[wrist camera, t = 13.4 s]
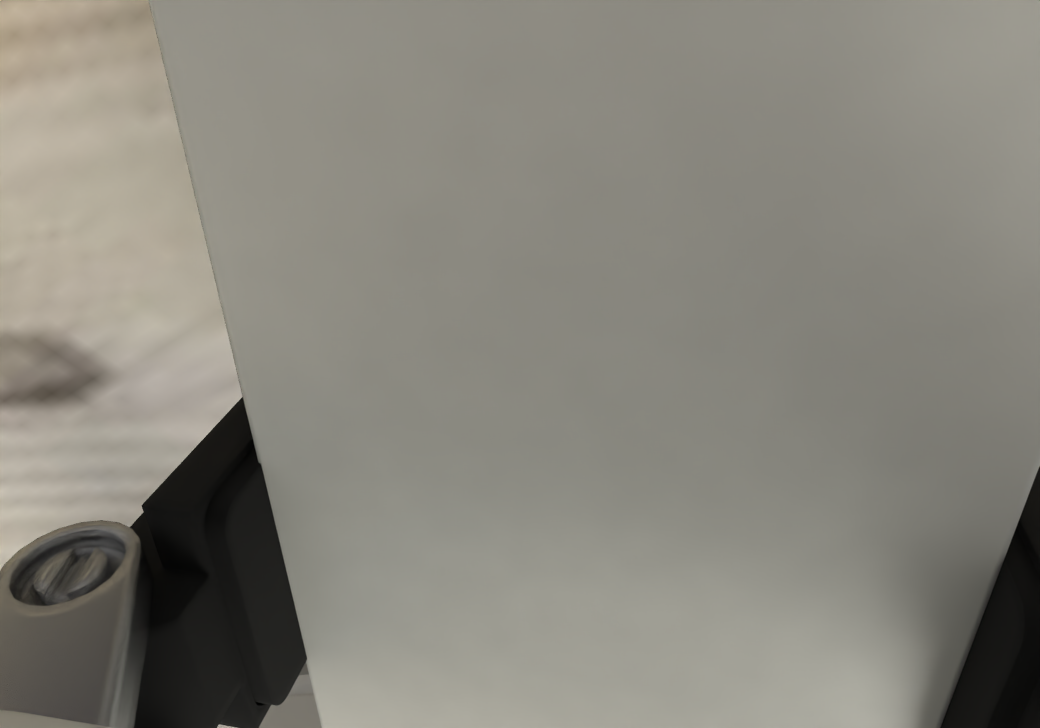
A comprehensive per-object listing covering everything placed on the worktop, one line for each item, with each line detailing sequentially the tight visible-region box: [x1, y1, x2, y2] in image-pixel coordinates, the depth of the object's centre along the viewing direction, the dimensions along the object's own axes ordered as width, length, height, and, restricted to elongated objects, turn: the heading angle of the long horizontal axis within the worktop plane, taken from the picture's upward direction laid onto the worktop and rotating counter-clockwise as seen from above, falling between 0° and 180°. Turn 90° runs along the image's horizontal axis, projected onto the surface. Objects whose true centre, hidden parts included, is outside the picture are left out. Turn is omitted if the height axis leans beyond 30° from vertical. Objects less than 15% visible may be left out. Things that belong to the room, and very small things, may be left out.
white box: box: [149, 0, 1040, 728], centre depth 9 cm, size 12×7×2 cm, turn 1°
